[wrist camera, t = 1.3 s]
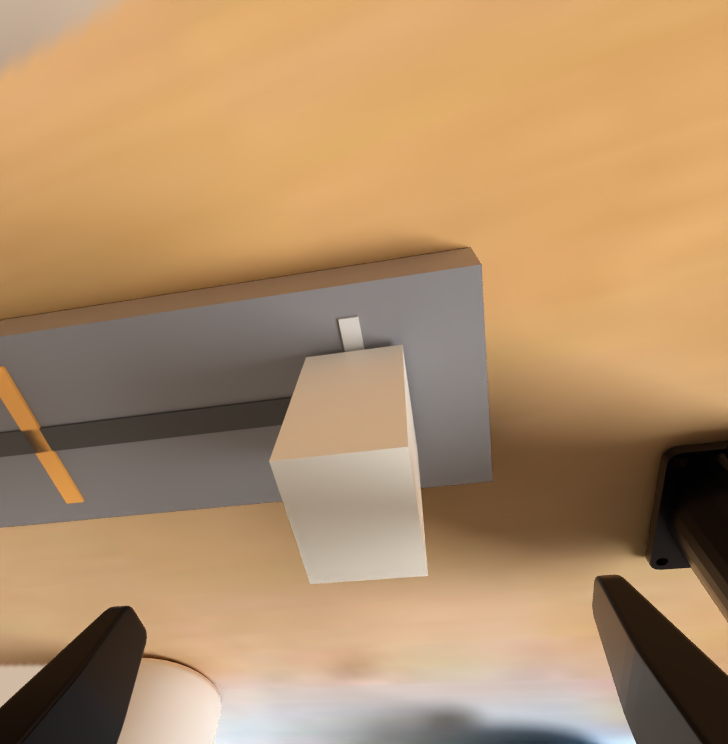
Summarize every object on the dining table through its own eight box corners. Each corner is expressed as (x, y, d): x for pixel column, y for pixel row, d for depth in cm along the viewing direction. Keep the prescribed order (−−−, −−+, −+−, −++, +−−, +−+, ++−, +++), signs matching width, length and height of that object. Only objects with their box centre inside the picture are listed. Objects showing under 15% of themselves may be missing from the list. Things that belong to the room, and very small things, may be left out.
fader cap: (417, 449, 16) (428, 576, 11) (331, 458, 16) (310, 584, 12) (402, 344, 14) (408, 446, 10) (306, 357, 14) (269, 461, 10)
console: (482, 447, 18) (493, 483, 17) (-46, 501, 21) (-87, 537, 20) (470, 247, 15) (482, 265, 13) (-167, 346, 18) (-231, 372, 16)
